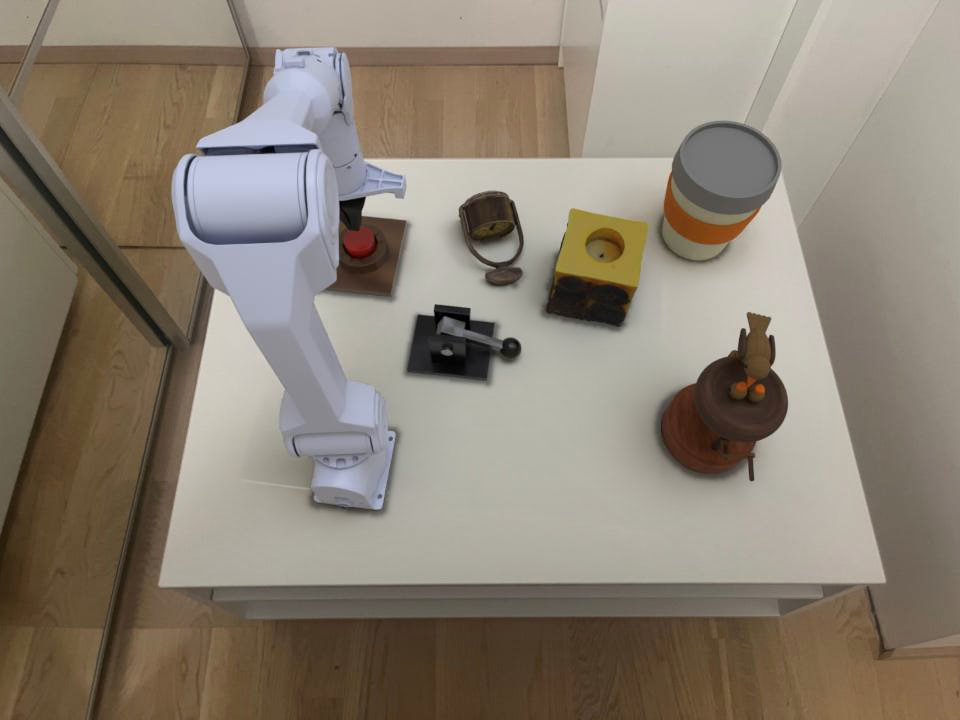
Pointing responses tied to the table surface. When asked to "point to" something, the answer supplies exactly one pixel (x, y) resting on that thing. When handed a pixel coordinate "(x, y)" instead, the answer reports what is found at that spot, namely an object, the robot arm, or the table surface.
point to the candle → (597, 267)
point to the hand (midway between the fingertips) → (355, 224)
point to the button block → (371, 259)
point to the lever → (480, 338)
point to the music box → (728, 406)
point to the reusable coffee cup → (717, 187)
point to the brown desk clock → (492, 229)
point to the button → (360, 242)
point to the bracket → (449, 346)
